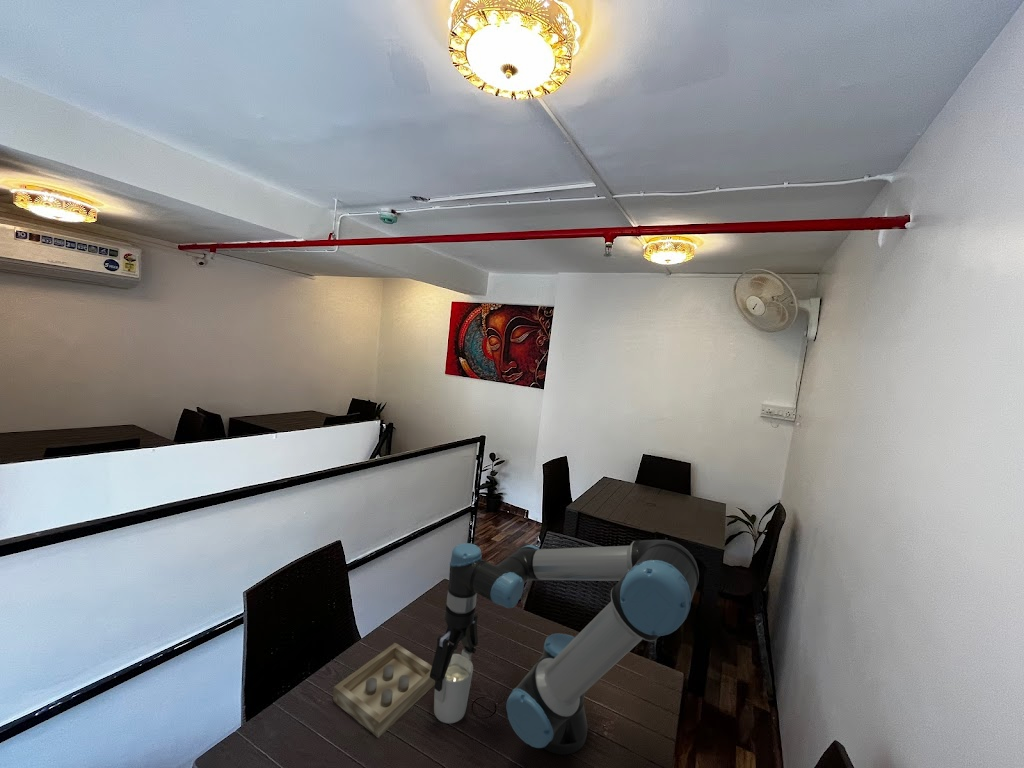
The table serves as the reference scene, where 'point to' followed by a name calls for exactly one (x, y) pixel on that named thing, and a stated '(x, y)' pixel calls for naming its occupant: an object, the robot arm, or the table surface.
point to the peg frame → (384, 688)
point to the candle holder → (455, 690)
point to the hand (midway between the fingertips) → (452, 686)
